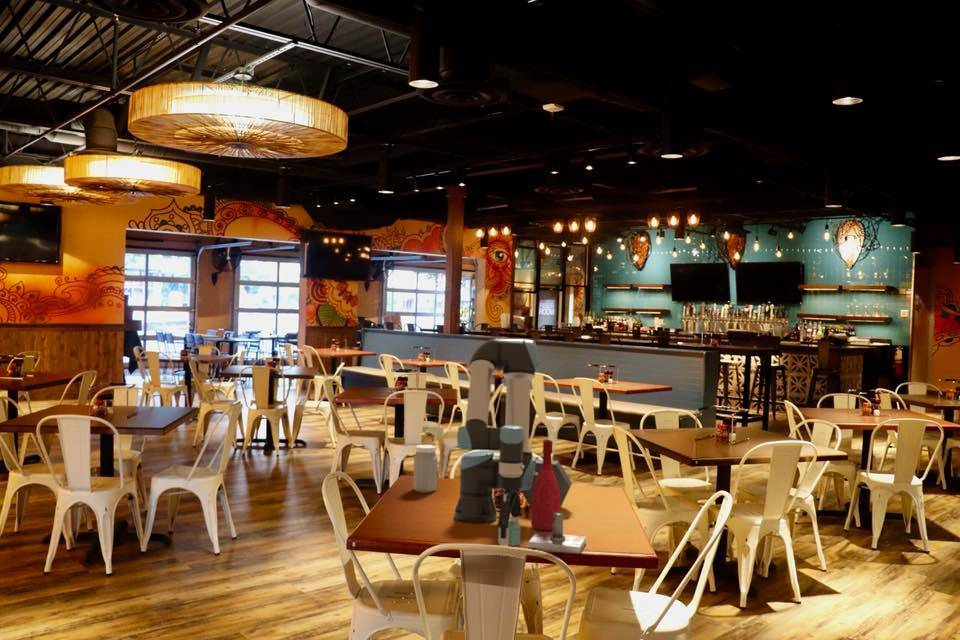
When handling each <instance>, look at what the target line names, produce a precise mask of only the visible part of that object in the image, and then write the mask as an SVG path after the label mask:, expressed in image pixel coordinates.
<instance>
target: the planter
mask: <svg viewBox="0 0 960 640" xmlns="http://www.w3.org/2000/svg"><path fill="white" fill-rule="evenodd" d="M551 463H552V468H553V472H554V475H555V478H556V480H557V483H558V486H559V490H560V508H561V507H562V505H563V503H564V501H565V499H566V497H567V495H568V493H569V490H570V488H571V486H572V484H573V482H572V481H571V478H570V477H569V475H568V474H567V472H566V470H565V469H564V468H563V465H562V464H561V462H560V461H559V460H554V459H553V460H552V459H551ZM542 464H543V459H537V458H536V465H535V471H534V477H533V483H532V487H531V489H529V490H519V492H521V494H522V496H523V497H524V499H525V501H526V502H527V505H528V506H529V507H530V508H531V500H532V491H533V487H534V484H535V482H536V480H537V478H538V475H539V473H540V471H541V466H542ZM535 473H537V474H535Z"/></svg>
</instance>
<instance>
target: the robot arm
mask: <svg viewBox="0 0 960 640" xmlns="http://www.w3.org/2000/svg"><path fill="white" fill-rule="evenodd" d="M468 371H469V373H470V379H469V389H468V397H467V406H466V414H465V423H464V425H463V426H459V427H458V428H457V436H456V438H457V439H456V444H457V448H458V449H461V450H469V451H472V450H474V451H472V452H467V453H465V454H464V455H462V456H461V460H460V467H459V469H460V474H459V476H460V477H459V478H460V479H459V481H460V482H459V483H460V484H459V497H458V500H457V502H456V503H457V504H456V505H455V508H454V512H453V513H454V515H453V517H454V519H455V520H457V521H461V522H465V523H474V524H477V523H490V522H494V521H495V520H497V518H498V523H497V524H496V527H497V528H498V527H500V539H499V543H498V544H499V545H508V542H509V527H508V523H509V522H517V523H519V524H520V518H521V517H522V515H523V514H522V511H521V509H522V508H521V502H520V501H521V500H520V490H529V489H531V487H532V483H533V477H534V472H535V465H536V459H537V458H536V457H534V456H533V451H532V450H531V449H530V448H529V440H530V439H529V438H530V437H529V436H530V435H529V434H530V404H531V398H530V397H531V381H532V380H533V379H534V378H535V375H536V373H538V372H539V371H540V369H539V359H538V350H537V343H536V341H534V340H532V339H524V338H517V339H516V338H513V339H512V338H491V339H488V340H487V341H484V342H483V343H481V344H480V345H479V346H478V347H477V348H476V350H475V351H474V352H473V354H472V356H471V358H470V360H469V365H468ZM496 371H502V376H503V377H504V379H505V380H506V393H505V394H506V395H505V421H504V422H505V423H504V425H503V426H501V427H490V426H488V425H489V411H490V401H491V392H492V391H491V390H492V382H493V381H492V379H493V377H494V375H495V373H496ZM493 451H497V452H498V451H499V455H495V454H494V452H493ZM494 490H504V493H503V494H501V495H500V497H501V498H500V506H499V515H498V512H497V508H496V504H495V500H494V498H493V497H494V495H493V491H494ZM499 545H498V546H499Z"/></svg>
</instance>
